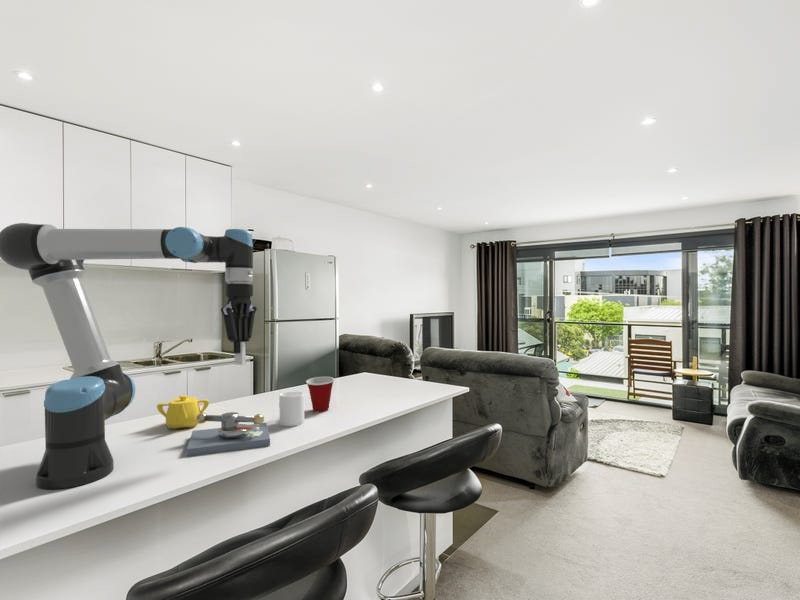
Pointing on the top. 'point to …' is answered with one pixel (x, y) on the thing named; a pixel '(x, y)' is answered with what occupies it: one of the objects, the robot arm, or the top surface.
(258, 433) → the stand
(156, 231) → the robot arm
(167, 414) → the yellow sugar bowl
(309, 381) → the plastic cup
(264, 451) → the top surface
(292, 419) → the cup
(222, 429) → the grey lever with knob
